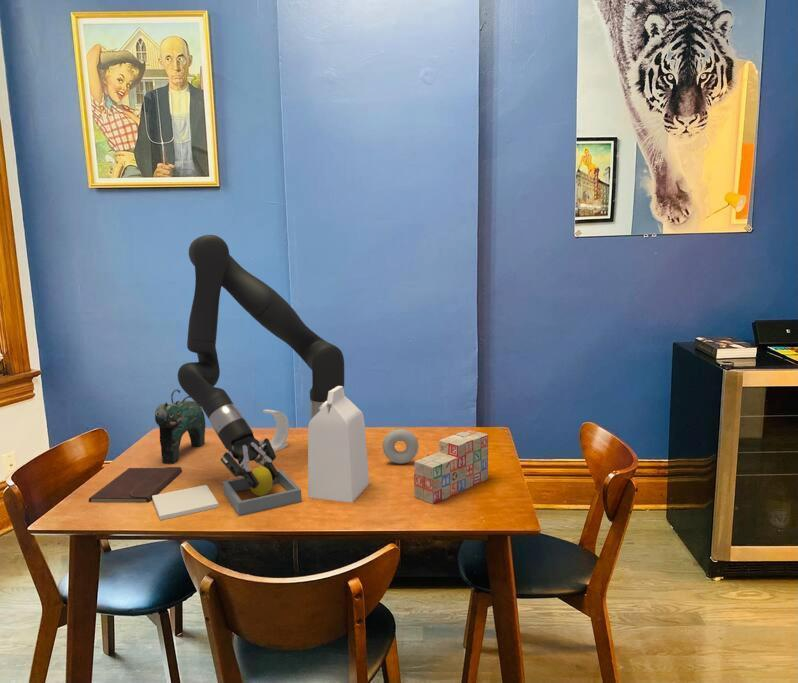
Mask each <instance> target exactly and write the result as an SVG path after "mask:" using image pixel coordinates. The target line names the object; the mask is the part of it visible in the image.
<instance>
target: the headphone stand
mask: <svg viewBox="0 0 798 683" xmlns="http://www.w3.org/2000/svg"><path fill="white" fill-rule="evenodd" d="M262 413H263V414H269V415H272V417H273V418H274V422H275V430H274V435H273V437H272V439H271V440H270V441H269V442H270V444H271V446H272V448H273V451H274V452H278V451H280V450H282V449H285V448H286V447H288V445H289V444H288V443H287V439H288V437H289V433H290V423H289V419H288V417H287V415H286V414H285V413H284V412H282V411H278V410H272V409H263V411H262Z"/></svg>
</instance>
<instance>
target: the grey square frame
mask: <svg viewBox="0 0 798 683" xmlns="http://www.w3.org/2000/svg"><path fill="white" fill-rule="evenodd" d="M276 470H277V469H276ZM277 472H278V477H277V478H276V479H275V480H272V481H273V483H272V485H275V484H280V485H281V486H282V487H283V489H285V491H281V492H280V491H279V492H276V493H271V494H266V495H264V496H261V497H260V496H257V497H253V498H249V499H244V500H242V499H241V498H240V496H239V495H238V494H237V493H238V492H241V491H247V490H251V489H250V486H249V485H248V483H247V482H246V480H245V478H244V477H242V476H241V477H236V478H233V479H228V480H223V481H222V490H223V494H224V495H225V497H226V499H227V500H228V502H229V503H230V505H231V506H232V507H233V509H234V510H235V512H236V514H237V515H238V516H239V517H240V516H245V515H248V514H253V513H257V512H261V511H266V510H267V511H268V510H270V509H275V508H279V507H283V506H284V507H285V506H287V505H292V504H296V503H301V502H302V501H303V500H302V497H303V496H302V489H301V488H300V487H299V486H298V485H297V484H296V483H295V482H294V481H293V479H291V477H289V476H288V475H287V474H286V473H285V472H284V471H283V470H282V469H278V470H277Z"/></svg>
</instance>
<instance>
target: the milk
mask: <svg viewBox="0 0 798 683" xmlns="http://www.w3.org/2000/svg"><path fill="white" fill-rule="evenodd" d="M344 389H345V387H344V388H343V386H337V387H335V388H334V389H332V390H330V391H329V392H328V398H327V401H325V402H324V403H323V404H322V405H321V406H320V407H319V409H320V411H319V412H318V413H317V414H316V415H315V416H314V417H313V418H312V419H311V418H310V421H309V422H308V426H307V429H308V430H307V433H308V434H307V438H308V439H307V447H308V448H307V457H308V458H307V476H308V477H307V487H308V488H307V498H310V499H317V500H318V499H319V500H327V501H328V500H329V501H337V502H343V503H353V502H355V500H356V499H357V498H358V497H359V496H360V495H361V494H362V492H363V491H364V490H365V489H366V488H367V487H368V486H369V484H370V476H369V475H370V474H369V461H368V450H367V436H366V428H365V427H366V425H365V416H364V414H363V412H362V410H360V409H359V407H357V405H355V403H353V402H352V400H350V399H349V398H348V397H347V396H345V395H346V394H345V390H344Z"/></svg>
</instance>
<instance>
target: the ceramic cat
mask: <svg viewBox="0 0 798 683" xmlns="http://www.w3.org/2000/svg"><path fill="white" fill-rule="evenodd" d="M176 392H178V394H180V393H181V390H180V389H174V390H173V391H172V392H171V396H170V397H171V403H168V402H167V401H166V402H165V403H160V404H159V405H158V406H157V407H156V408H155V412H154V420H155V423H156V424H157V425H158V428H159V444H160V451H161V461H162V464H167V465H169V464H170V465H173V464H175V463H177V462H179V458H180V457H179V456H180V446H181V443H182V442H181V441H182V438H183V435H184V434H185V433H186V432H187V433H188V436H189V440H190V445H191V447H193V448H194V447H195V448H200V447H203V446H204V445H205V440H206V438H205V437H206V417H205V412H204V410H203V409H202V407H201V406H200V405H199V404H197V403H196V402H195V401H194V400H186V399H188V398H191V397H190V396H189V395H187V396H186V397H184V398H183V399H182V400H177V401H175V402H174V399H173V398H174V397H173V396H174V394H175V393H176Z"/></svg>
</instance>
